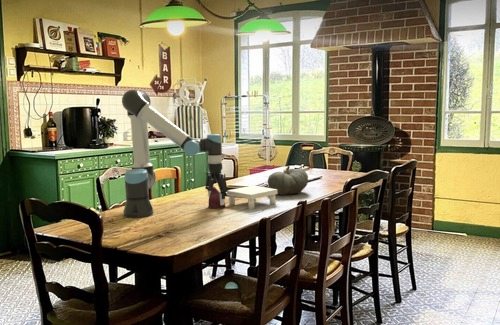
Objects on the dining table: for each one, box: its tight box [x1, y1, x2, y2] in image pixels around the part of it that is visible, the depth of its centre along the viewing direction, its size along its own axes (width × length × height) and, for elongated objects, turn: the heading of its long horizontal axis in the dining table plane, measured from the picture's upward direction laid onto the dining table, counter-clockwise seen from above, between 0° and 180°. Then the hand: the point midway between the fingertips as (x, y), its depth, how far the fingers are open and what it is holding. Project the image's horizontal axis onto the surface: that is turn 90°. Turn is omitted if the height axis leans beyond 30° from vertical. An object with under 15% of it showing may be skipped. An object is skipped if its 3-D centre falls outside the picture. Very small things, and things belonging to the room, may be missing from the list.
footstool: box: [226, 185, 278, 210], centre depth 272 cm, size 20×20×8 cm
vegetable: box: [208, 185, 226, 210], centre depth 265 cm, size 10×9×14 cm
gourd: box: [267, 165, 309, 196], centre depth 300 cm, size 25×25×17 cm
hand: (216, 203), depth 267 cm, fingers closed on vegetable, 9 cm apart
